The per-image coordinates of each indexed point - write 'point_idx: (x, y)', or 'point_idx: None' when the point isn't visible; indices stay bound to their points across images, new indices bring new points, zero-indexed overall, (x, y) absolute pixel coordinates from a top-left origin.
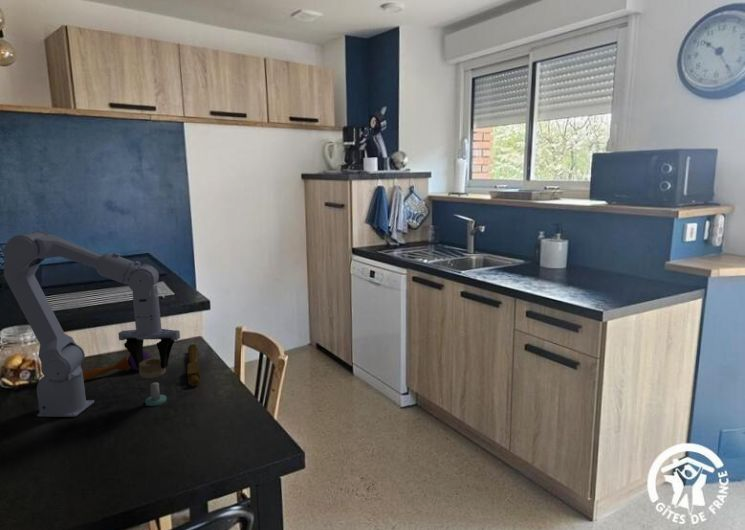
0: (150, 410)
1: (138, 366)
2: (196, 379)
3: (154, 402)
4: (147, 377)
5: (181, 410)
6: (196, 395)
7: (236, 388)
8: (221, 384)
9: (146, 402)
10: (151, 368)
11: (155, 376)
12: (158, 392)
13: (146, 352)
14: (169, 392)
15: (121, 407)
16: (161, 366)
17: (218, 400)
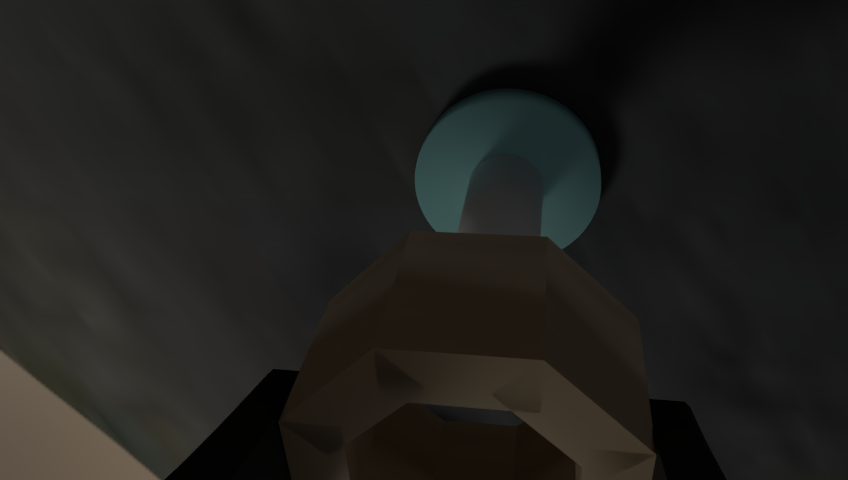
0: (479, 7)
1: (659, 418)
2: None
3: (482, 117)
4: (478, 235)
5: (190, 13)
6: (236, 269)
7: (32, 350)
8: (168, 408)
9: (564, 119)
10: (380, 322)
11: (380, 259)
12: (462, 213)
13: None
14: None
15: (816, 67)
16: (289, 388)
17: (20, 186)
